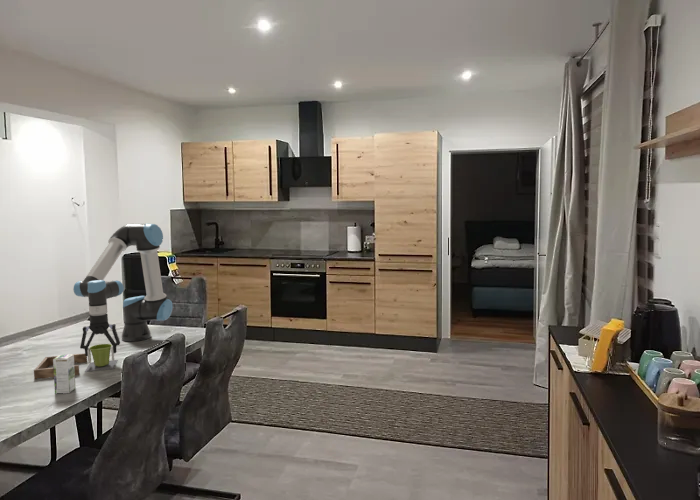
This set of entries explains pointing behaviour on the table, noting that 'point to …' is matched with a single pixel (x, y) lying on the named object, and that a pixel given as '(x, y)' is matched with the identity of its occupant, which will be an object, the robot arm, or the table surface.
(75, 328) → the table surface
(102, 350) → the plant pot
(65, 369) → the syrup box
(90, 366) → the charcoal mat
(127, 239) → the robot arm
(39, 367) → the walnut bay
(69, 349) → the table surface
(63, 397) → the table surface
